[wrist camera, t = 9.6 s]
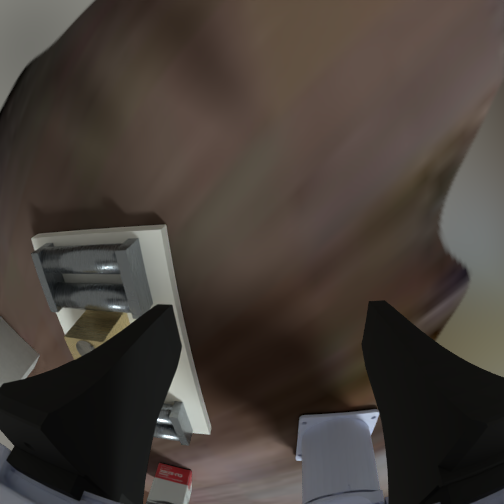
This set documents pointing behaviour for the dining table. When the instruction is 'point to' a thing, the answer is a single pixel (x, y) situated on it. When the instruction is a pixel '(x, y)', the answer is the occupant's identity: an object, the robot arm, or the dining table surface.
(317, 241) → the dining table surface
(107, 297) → the chain ends
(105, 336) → the brass block
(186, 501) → the ink box
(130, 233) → the board
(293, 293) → the dining table surface
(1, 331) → the tea bag
